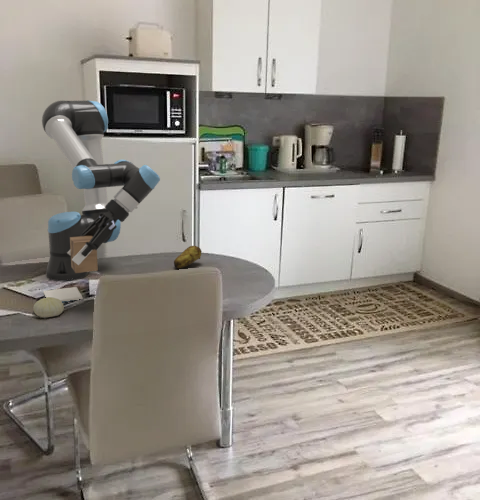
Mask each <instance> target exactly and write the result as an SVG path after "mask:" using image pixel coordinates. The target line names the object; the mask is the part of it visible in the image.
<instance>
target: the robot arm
mask: <svg viewBox="0 0 480 500" xmlns="http://www.w3.org/2000/svg"><path fill="white" fill-rule="evenodd" d="M108 124H109V118H108V114H107V111H106V108H105V107H104V106H103V105H102V103H100V102H99V101H97V100H57V101H54V102H52V103H51V104H49V105H48V106H47V107H46V108H45V110H44V112H43V114H42V118H41V125H42V129H43V130H44V132H45V134H46V135H47V137H48V138H50V139H52V140H53V141H54V142H55V143H56V145H57V146H58V148H59V150H60V151H61V153H62V154H63V156H64V157H65V159H66V160H67V161H68V163H69V165H70V166H71V168H72V171H71V179H72V181H73V185H74V187H75V188H76V189H78V190H83V197H84V204H85V205H84V207H83V208H82V209H81V212H82V213H81V214H80V212H77V211H64V212H59V213H57V214H56V213H55V214H54V215H52V216H51V217H50V218H49V219H48V221H47V225H48V226H47V232H48V245H49V258H48V263H47V266H46V271H45V272H46V277H47V278H48V279H49V280H54V281H59V280H67V281H73V280H74V279H75V280H79V278H80V279H82V277H83V278H85V277H86V276H88V274H89V272H81V273H75V272H74V270H73V268H72V267H71V250H70V237H78V236H93V237H92V239H91V240H90V241H89V243H88V242H86V243H85V246H84V247H83V248H82V249H81V250H80V251H79V252H78V253H77V254H76V255H75V256H74V257H73V259H72V261H74V262H75V263H76V264H78V265H79V264H80V263H81V262H82V261H83V260H84V259H85V258H86V257H87V256H88V255H89V253H90V252H91V251H92V250H94V249H95V250H97V251H98V249H99V248H100V247H101V245H102V244H106V243H107V244H108V243H110V242H114V241H116V240H117V239H118V237H119V235H120V233H121V229H122V227H121V226H122V225H121V224H122V223H123V222H124V221H125V220H127V218H128V217H129V216H130V214H129V213H133V211H134V210H135V209H138V206H139V205H140V204H141V202H143V200H144V199H145V198H146V197H147V196H148V195H149V194H150V193H151V192H152V191H153V190H154V189H155V188H156V186H157V185H158V184H159V182H160V181H161V177H160V176H159V174H158V173H157V172H156V171H154V169H152V168H151V167H150V166H149V165H147V164H144V165H142V166H141V167H137V166H136V165H135V164H133V163H132V162H131V161H128V160H127V159H118V160H116V161H114V163H104V158H103V151H102V145H101V143H102V142H101V140H102V139H104V136H105V135H104V133H105V132H106V131H107V130H108V128H109V125H108ZM113 187H115V188H116V187H121V188H120V189H119V190H118V191H117V193H116V194H115V195H114V196H113V199H110V200H109V198H108V191H107V188H113Z"/></svg>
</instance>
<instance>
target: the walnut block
mask: <svg viewBox="0 0 480 500" xmlns="http://www.w3.org/2000/svg"><path fill="white" fill-rule="evenodd" d="M92 237H93V236H78V237H70V250H71V267H72V268H73V270H74V272H75V273H81V272H88V273H90V272H96V271H99V270H98V269H99V268H98V249H97V250H95V249H94V250H92V251H91V252H90V253H89V255H88V256H87V257H86V258H85V259H84V260H83V261H82V262H81V263H80V264H79V265H78V264H76V263H75V262H74V261H72V259H73V257H74V256H75V255H76V254H77V253H78V252H79V251H80V250H81V249H82V248H83V247H84V246H85V243H86V242H88V243H89V241H90V240H91V239H92Z"/></svg>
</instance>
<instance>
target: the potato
mask: <svg viewBox="0 0 480 500" xmlns="http://www.w3.org/2000/svg"><path fill="white" fill-rule="evenodd" d="M201 256H202V248H200V247H199V246H197V245H190V246H188V247H187V248H185V249H184V251H182V253H181V254H180V255H178V256H177V257H176V258H175V259H174V261H173V265H174V267H175V268H176V269H182V268H185V267H188V266H190V265H192V264H194V262H196V261H197V260H201Z"/></svg>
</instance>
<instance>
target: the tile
mask: <svg viewBox="0 0 480 500" xmlns="http://www.w3.org/2000/svg"><path fill="white" fill-rule="evenodd" d="M44 295H45V296H44ZM43 296H44V298H45V297H52V298H56V299H59V300H60V301H70V300H79V299H84V298H83V296H82V293H80V291H79V289H78V287H77V286H73V287H66V288H65V287H64V288H57V289H48V290H43Z"/></svg>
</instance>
